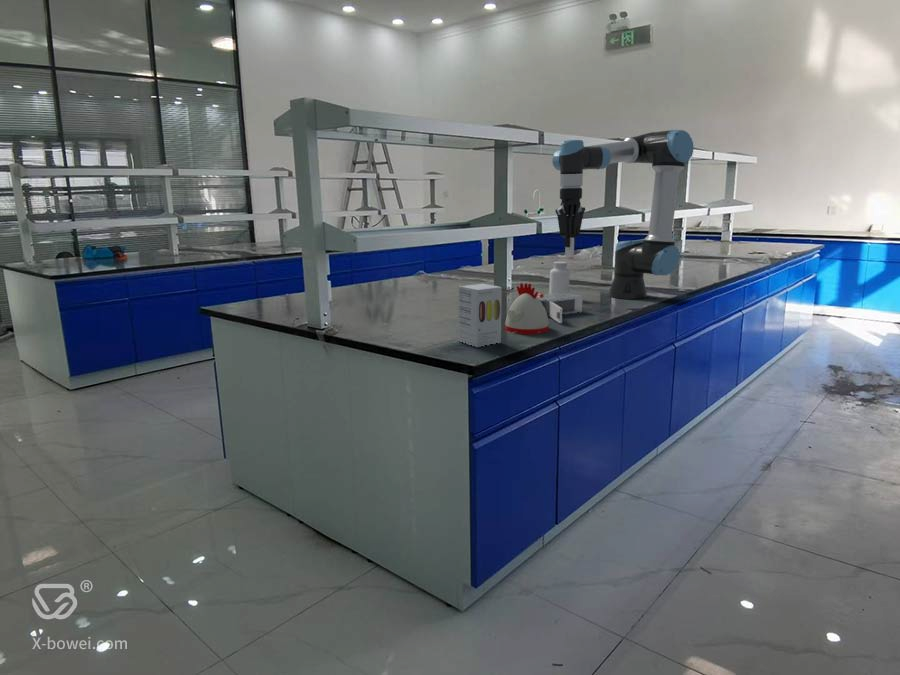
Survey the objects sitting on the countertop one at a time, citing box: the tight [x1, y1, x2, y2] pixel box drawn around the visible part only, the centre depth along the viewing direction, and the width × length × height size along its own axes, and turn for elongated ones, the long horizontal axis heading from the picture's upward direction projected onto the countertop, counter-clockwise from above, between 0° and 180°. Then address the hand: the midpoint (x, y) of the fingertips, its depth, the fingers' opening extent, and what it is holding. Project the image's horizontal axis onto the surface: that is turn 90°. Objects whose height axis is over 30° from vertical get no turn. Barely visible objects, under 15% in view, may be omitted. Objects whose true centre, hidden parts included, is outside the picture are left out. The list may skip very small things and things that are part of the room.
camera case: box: [537, 292, 584, 318], centre depth 220 cm, size 19×10×7 cm, turn 118°
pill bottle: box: [548, 261, 571, 294], centre depth 246 cm, size 8×8×15 cm
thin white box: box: [548, 301, 563, 324], centre depth 207 cm, size 13×2×5 cm, turn 7°
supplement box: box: [458, 283, 503, 348], centre depth 177 cm, size 10×9×17 cm
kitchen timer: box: [504, 282, 550, 335], centre depth 194 cm, size 14×14×15 cm
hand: (569, 256), depth 213 cm, fingers closed
